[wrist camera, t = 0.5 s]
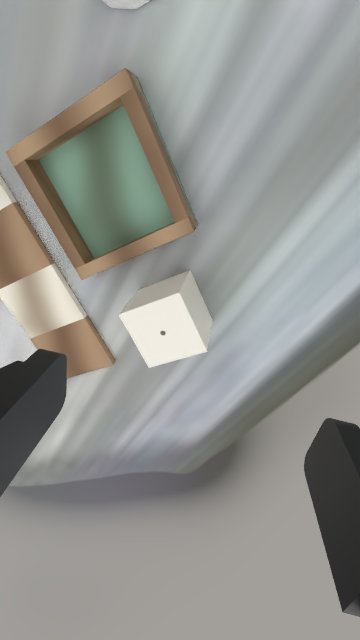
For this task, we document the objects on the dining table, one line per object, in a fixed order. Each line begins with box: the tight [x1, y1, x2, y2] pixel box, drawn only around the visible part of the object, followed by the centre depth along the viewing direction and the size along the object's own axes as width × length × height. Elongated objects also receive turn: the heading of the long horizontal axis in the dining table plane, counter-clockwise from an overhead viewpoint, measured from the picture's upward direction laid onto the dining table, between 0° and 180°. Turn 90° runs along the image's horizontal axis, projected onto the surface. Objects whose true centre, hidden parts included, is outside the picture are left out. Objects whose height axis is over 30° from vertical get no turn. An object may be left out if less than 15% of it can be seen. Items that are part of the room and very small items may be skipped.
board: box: [0, 175, 115, 378], centre depth 28 cm, size 7×22×1 cm, turn 25°
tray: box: [6, 68, 198, 280], centre depth 22 cm, size 10×10×2 cm
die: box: [119, 270, 213, 368], centre depth 24 cm, size 5×5×5 cm
